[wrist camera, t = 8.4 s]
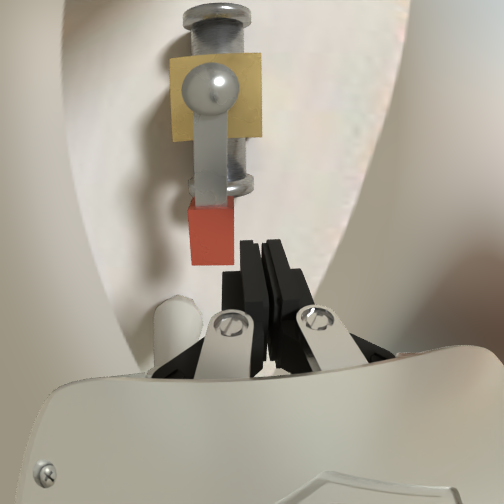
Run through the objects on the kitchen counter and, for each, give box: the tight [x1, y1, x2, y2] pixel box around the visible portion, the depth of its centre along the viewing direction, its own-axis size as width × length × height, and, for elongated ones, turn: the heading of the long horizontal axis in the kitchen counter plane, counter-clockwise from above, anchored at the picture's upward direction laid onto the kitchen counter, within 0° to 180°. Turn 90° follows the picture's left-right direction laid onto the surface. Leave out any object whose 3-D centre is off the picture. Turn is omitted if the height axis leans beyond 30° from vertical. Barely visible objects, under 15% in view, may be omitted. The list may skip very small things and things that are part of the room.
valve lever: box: [181, 63, 239, 265], centre depth 16 cm, size 12×3×3 cm, turn 179°
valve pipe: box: [170, 3, 262, 197], centre depth 19 cm, size 16×6×9 cm, turn 1°
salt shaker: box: [147, 295, 203, 375], centre depth 28 cm, size 6×6×13 cm
